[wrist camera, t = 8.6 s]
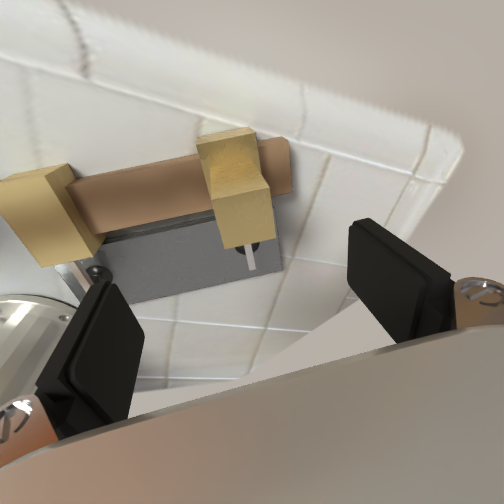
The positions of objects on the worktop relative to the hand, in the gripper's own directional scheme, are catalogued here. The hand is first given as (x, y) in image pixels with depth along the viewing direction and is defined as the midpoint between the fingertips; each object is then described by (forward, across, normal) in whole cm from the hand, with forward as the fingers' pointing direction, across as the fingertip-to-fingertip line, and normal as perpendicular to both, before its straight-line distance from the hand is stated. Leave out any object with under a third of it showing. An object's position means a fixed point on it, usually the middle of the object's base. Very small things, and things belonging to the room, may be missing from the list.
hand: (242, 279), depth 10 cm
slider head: (+14, -1, +2) cm, 14 cm away
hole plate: (+14, +6, +6) cm, 16 cm away
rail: (+14, +5, +2) cm, 15 cm away
